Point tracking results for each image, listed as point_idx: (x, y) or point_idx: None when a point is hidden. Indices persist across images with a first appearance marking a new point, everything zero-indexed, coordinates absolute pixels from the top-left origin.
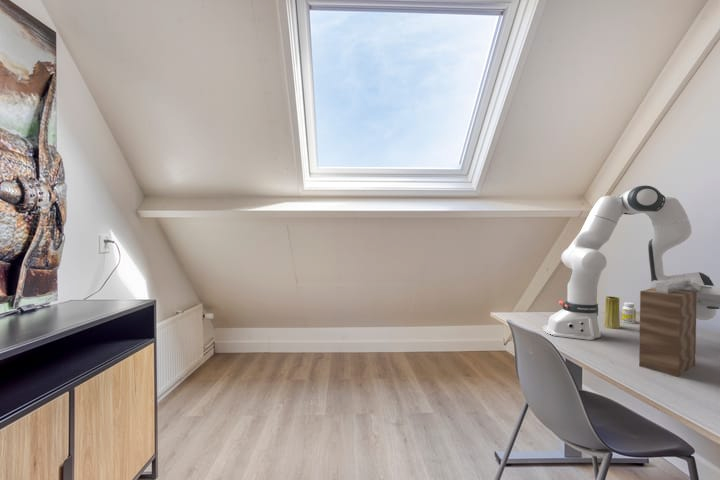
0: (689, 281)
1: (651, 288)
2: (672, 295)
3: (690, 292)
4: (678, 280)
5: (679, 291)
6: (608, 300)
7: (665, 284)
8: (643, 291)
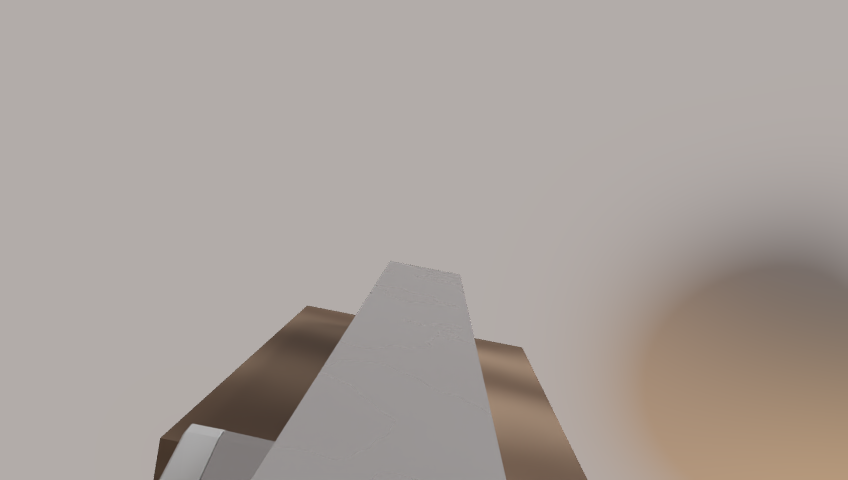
0: (252, 437)
1: (555, 418)
2: (344, 314)
3: (242, 369)
4: (390, 340)
5: None
6: None
7: (403, 264)
8: (506, 345)
